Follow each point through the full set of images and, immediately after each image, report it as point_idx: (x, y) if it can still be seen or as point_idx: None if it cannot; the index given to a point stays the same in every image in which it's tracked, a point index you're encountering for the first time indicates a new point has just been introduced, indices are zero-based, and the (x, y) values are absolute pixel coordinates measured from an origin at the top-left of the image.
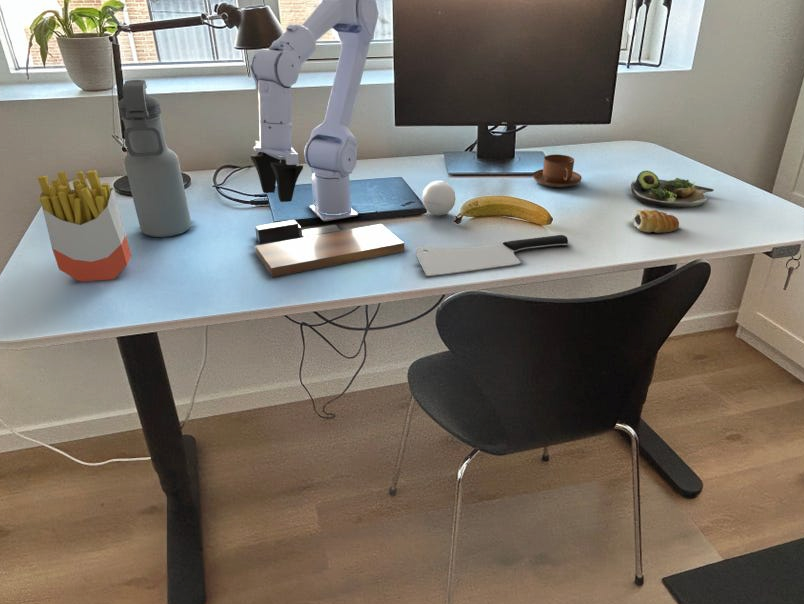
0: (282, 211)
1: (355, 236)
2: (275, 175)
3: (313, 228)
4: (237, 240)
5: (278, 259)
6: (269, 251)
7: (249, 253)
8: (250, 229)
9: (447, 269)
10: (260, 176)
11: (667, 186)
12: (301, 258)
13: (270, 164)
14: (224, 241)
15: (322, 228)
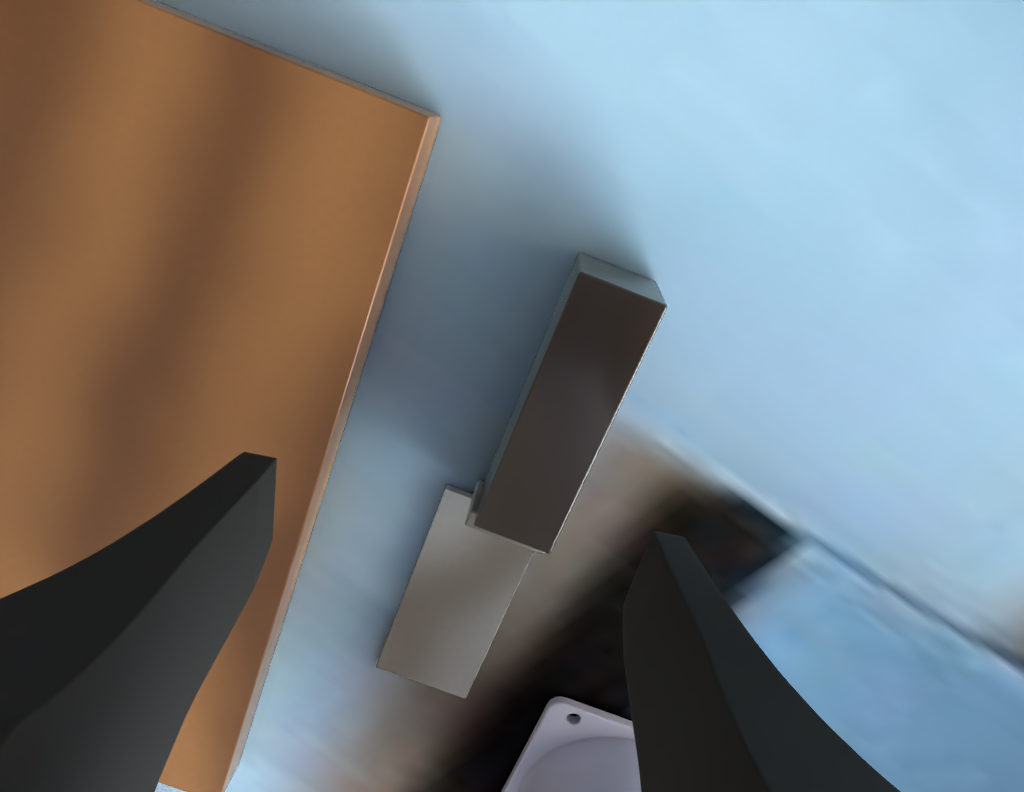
0: (892, 663)
1: None
2: (98, 621)
3: (507, 598)
4: (752, 176)
5: (108, 84)
6: (267, 127)
7: (495, 94)
8: (834, 360)
9: None
10: (711, 647)
11: None
12: (35, 208)
13: (2, 733)
14: (818, 94)
15: (469, 626)
